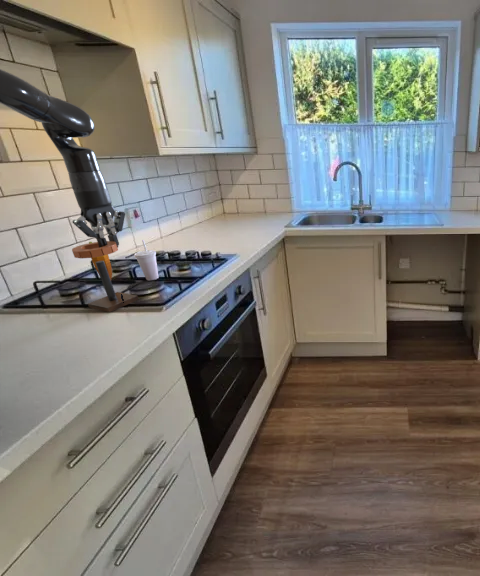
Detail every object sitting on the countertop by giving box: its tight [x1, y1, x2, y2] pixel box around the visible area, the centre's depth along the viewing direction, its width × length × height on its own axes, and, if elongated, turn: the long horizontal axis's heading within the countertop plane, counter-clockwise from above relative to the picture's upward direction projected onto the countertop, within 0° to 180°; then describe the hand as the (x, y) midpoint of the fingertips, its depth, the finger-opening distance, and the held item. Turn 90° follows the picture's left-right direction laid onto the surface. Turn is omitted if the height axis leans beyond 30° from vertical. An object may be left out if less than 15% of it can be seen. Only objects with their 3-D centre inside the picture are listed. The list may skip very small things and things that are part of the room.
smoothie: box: [134, 239, 160, 281], centre depth 125 cm, size 6×6×14 cm
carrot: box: [88, 241, 113, 281], centre depth 122 cm, size 5×5×15 cm
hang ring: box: [71, 240, 119, 259], centre depth 102 cm, size 10×10×2 cm
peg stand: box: [87, 261, 139, 313], centre depth 106 cm, size 9×9×14 cm
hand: (110, 248), depth 106 cm, fingers closed on hang ring, 2 cm apart
